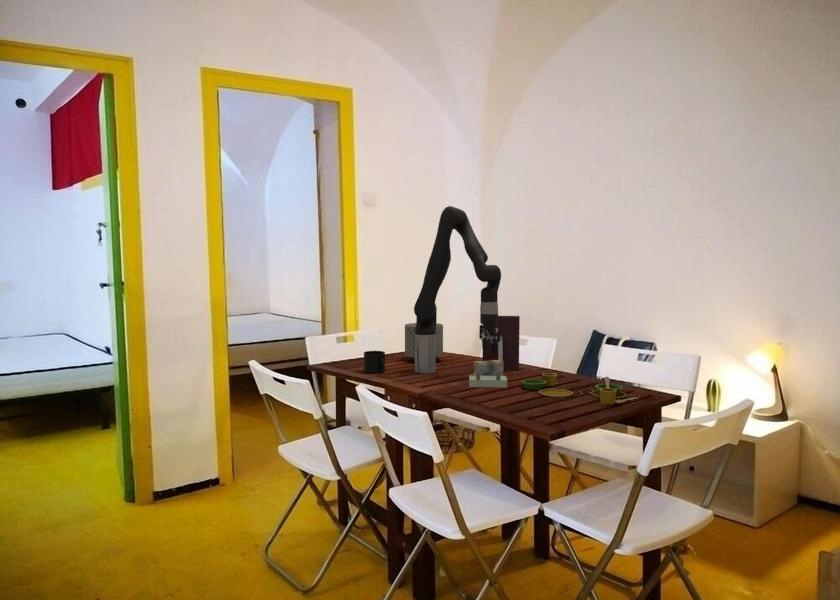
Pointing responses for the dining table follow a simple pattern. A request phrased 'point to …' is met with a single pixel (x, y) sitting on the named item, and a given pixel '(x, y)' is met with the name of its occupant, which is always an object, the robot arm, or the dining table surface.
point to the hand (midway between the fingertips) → (489, 350)
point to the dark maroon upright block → (506, 343)
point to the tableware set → (549, 379)
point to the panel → (489, 367)
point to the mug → (374, 362)
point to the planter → (411, 340)
